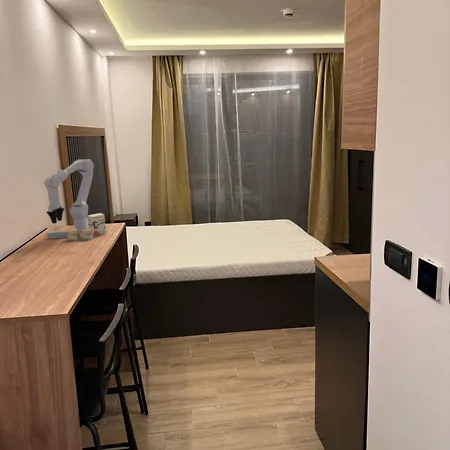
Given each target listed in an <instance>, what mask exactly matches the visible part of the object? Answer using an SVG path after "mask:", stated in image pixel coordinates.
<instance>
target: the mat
mask: <svg viewBox="0 0 450 450" xmlns="http://www.w3.org/2000/svg"><path fill="white" fill-rule="evenodd" d="M97 237H98V235H94V238H92V239H84V240H82V235H80V238H79V239H78V240H68V239H66V240H65V242H81V241H82V242H84V241H93V240H95V238H97Z"/></svg>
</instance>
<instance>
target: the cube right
mask: <svg viewBox="0 0 450 450" xmlns="http://www.w3.org/2000/svg"><path fill="white" fill-rule="evenodd" d="M81 232H82V233H81V236H82V240H84V239H92V238H94V236H95V235H94V231H93V228H92V229H83V230H82V231H81ZM94 239H95V238H94Z"/></svg>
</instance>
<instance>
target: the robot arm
mask: <svg viewBox="0 0 450 450" xmlns="http://www.w3.org/2000/svg"><path fill="white" fill-rule="evenodd" d="M94 167H95V164H94V163H93V161H92V160H91V159H90V158H89V159H77V160H74V161H73V163H71V164H70V165H69V166H68V167H66V168H65V169H59V170H57V172H56V173H54V174H51V175H50V177H49V176H48V177H47V178H45V179H44V182H43V184H44V186H45V187H46V190H47V196H48V204H49V206H47V209H48V210H47V211H46V214H47V215H48V216H49V219H50V221H51V223H52V224H57V221H58V222H61V221H63V214H64V211H65V207H63V203H61V199H60V193H59V192H60V191H59V187H60V184H61V183H62V182H64V181H66V179H68V177H69V175H70V174H72V173H74V172H75V171H78V173H80V174H81V175H82V180H81V183H80V187H79V190H78V194H77V198H76V200H75V201H74V202H73V203H72V206H71V207H70V209H69V214H70V215H71V216H72V218H73V226H74V229H79V231H80V234H82V232H81V231H82V230H83V229H89V225H88V217H87V216H88V214H89V205H88V204H87V200H88V196H89V193H90V189H91V185H92V180H93V177H94Z"/></svg>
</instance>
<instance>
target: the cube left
mask: <svg viewBox="0 0 450 450" xmlns="http://www.w3.org/2000/svg"><path fill="white" fill-rule="evenodd" d="M66 231H67V234H68V238H67V240H78V239H79V238H80V236H81V233H80V231H79V229H75V228H72V229H71V228H70V229H69V230H66Z"/></svg>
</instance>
